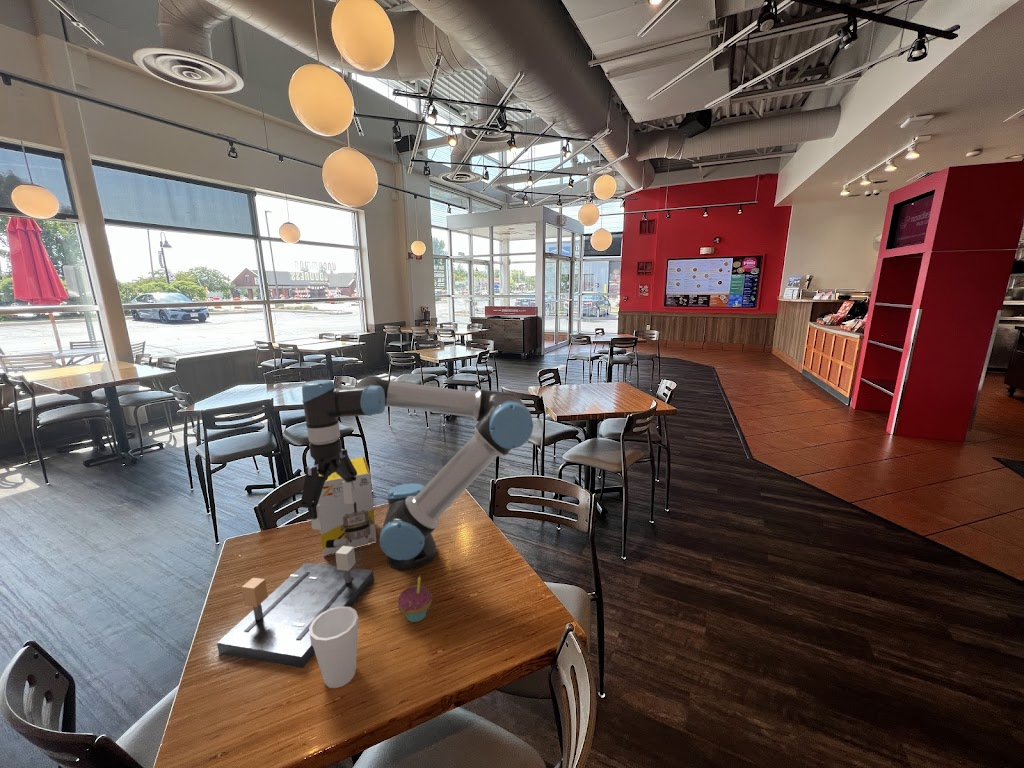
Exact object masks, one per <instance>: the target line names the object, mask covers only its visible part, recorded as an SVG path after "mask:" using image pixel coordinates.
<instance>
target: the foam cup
mask: <svg viewBox="0 0 1024 768" xmlns="http://www.w3.org/2000/svg"><path fill="white" fill-rule="evenodd" d="M359 627H360V624H359V616H358V612H357V610H356V609H354V608H353V607H352V608H351V607H345V606H339V607H335V608H331V609H329V610H327V611H325V612H323V613H321V614H320V615H318V616H317V617H316V618H315V619H314V620H313V621H312V623H311V625H310V627H309V632H310V639H311V645H312V646H313V648H314V651H315V654H314V656H315V657H316V661H317V663H318V667H319V670H320V673H321V677H322V679H323V682H324V685H326V686H327V687H328V688H329V689H337V688H341V687H343V686H346V685H347V684H348V683H350V682H351V681H352V680H353V678H354V677H355V674H356V670H357V655H358V654H357V653H358V636H359V635H358V633H359Z"/></svg>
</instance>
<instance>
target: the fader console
mask: <svg viewBox="0 0 1024 768" xmlns="http://www.w3.org/2000/svg"><path fill="white" fill-rule="evenodd" d="M350 572H351V582H350V583H345V578H344V570H337V565H328V564H319V563H312V562H311V563H310V562H305V563H303V564H302V565H301V566H300V567H299V568H298V569H297V570H295V572H294V573H292V574H290V575H289V577H288V578H287V579H285V581H283V583H281V584H280V585H279V586H278V587H277V588H275V589H274V590H273V592H271V593H270V594H269V595H268V597H267V598H266V599H265V600H264V601H263V602H262V603H261V606H262V612H263V617H262V618H261V619H260V620H255V616H254V610H252V611H250V612H249V613H248V614H247V615H246V616H245V617H244V618H242V619H241V621H239V622H238V623H237V624H236V625H235V626H233V627H232V628H231V629H230V630H229V631H228V632H227V633H225V634H224V635H223V637H222V638H221V639H220V640H218V641H217V643H216V646H217V649H218V651H217V652H218V655H223V656H228V657H235V658H240V659H246V660H251V661H258V662H264V663H270V664H275V665H280V666H281V665H282V666H286V667H293V668H299V669H304V668H306V666H307V664H308V663H309V662H310V661H311V659H312V658H313V657H314V656H315V651H314V648H313V646H312V645H311V639H310V632H309V627H310V625H311V623H312V621H313V620H314V619H315V618H316V617H317V616H318V615H320V614H321V613H323V612H325V611H327V610H329V609H331V608H335V607H339V606H345V607H351V608H353V607H354V605H355V604H356V602H358V601H359V600H360V598H361V597H362V595H363V594H364V593H365V591H367V589H368V588H369V586H370V585H371V584H372V583H373V581H374V579H375V578H374V571H373V570H371V569H363V568H355V567H352V568H351V569H350ZM371 582H372V583H371Z"/></svg>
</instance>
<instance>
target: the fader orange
mask: <svg viewBox="0 0 1024 768" xmlns="http://www.w3.org/2000/svg"><path fill="white" fill-rule="evenodd" d="M266 583H267V582H266V579H265V578H259V577H252V578H251V579H249V580H248V581H247V582H246V583H244V585H243V584H242V586H241V592H242V597H243V604H244V605H245V606H248V607H253V608H252V609H253V610H254V616H255V620H260V619H261V618H262V617H263V612H262V606H261V603H262V602H263V601H264V600H265V599H266V598H267V597H268V596H269V595H268V590H267V584H266ZM253 610H252V611H253Z"/></svg>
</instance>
